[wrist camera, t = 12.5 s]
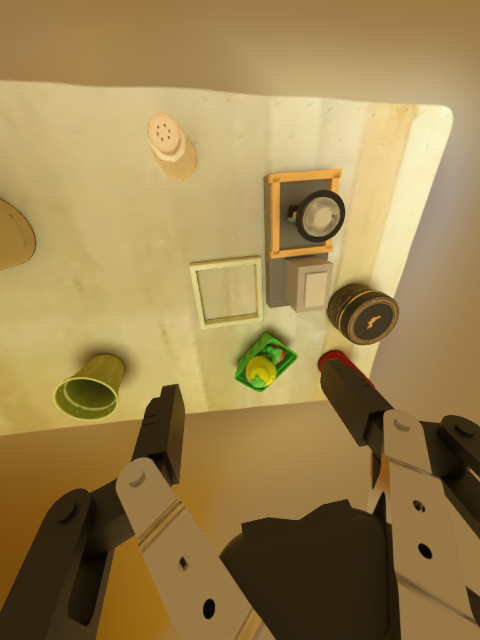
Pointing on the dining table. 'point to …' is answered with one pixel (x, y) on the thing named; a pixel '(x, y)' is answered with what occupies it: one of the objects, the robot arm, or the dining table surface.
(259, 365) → the fruit basket
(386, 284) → the dining table surface
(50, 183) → the dining table surface
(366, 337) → the jar
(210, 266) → the parts tray
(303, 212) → the black and tan cylinder
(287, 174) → the gray stepped base block
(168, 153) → the pepper shaker
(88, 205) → the dining table surface
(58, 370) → the dining table surface
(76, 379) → the plant pot
